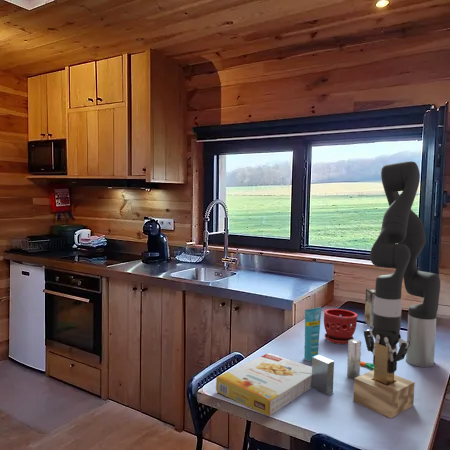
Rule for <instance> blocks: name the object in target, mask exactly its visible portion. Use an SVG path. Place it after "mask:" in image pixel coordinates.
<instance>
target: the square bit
mask: <svg viewBox="0 0 450 450" xmlns="http://www.w3.org/2000/svg"><path fill="white" fill-rule="evenodd" d="M374 343H375V342H374ZM391 349H394V347H392V348H391ZM389 361H390V359H389V347H387V346H386V345H383V344H380V343H379V344H378V343H375V364H374V381H376V382H379V383H381V384H384V385H386V386H388V385H390V384H392V383H394V375H395V372H394V373H392V374H391V373H389Z"/></svg>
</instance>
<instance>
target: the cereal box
mask: <svg viewBox="0 0 450 450" xmlns="http://www.w3.org/2000/svg"><path fill="white" fill-rule="evenodd" d="M215 384H216V385H215V391H216V393H218V394H219V395H222V396H224V397H227V398H229V399H231V400H233V401H234V402H237V403H239V404H241V405H243V406H246V407H247V408H249V409H252V410H254V411H256V412H258V413H260V414H263V415H265V416H268V417H270V416H271V415H273V414H275V413H276V412H277V411H279V410H280V409H282V408H283V407H285V406H286V405H288V404H289V403H290V402H292V401H293V400H296V399H297V397H299V396H301V395H302V394H304V393H305V392H306V391H308V390H309V389H312V388H311V384H312V366H310V365H308V364H307V365H306V364H304V363H300V362H297V361H294V360H292V359H288V358H285V357H282V356H281V355H276V354H273V353H270V352H268V353H266V354H264V355H261V356H259V357H257V358H255V359H252V360H250V361H248V362H246V363H244V364H241V365H239V366H237V367H235V368H233V369H231V370H228V371H226V372H224V373H222V374H220V375H218V376H216V382H215Z"/></svg>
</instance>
